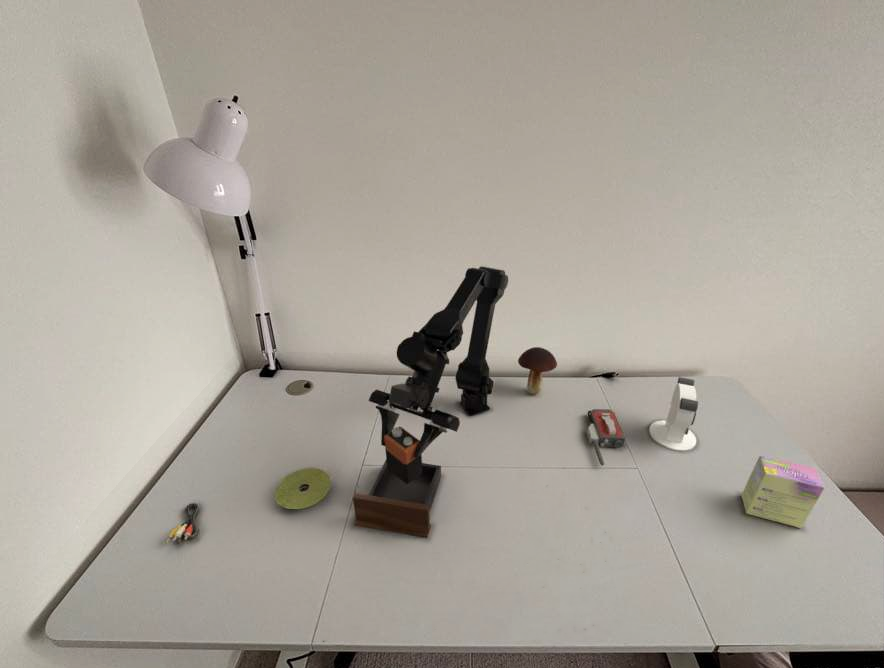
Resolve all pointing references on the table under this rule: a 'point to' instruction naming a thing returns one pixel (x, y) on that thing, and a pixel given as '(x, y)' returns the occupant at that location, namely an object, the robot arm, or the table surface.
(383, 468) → the wooden drawer
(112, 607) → the table surface
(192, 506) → the composite cable
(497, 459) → the table surface
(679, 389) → the white upright stand
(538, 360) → the decorative mushroom
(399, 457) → the battery
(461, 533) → the table surface
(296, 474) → the mat
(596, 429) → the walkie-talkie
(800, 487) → the box
